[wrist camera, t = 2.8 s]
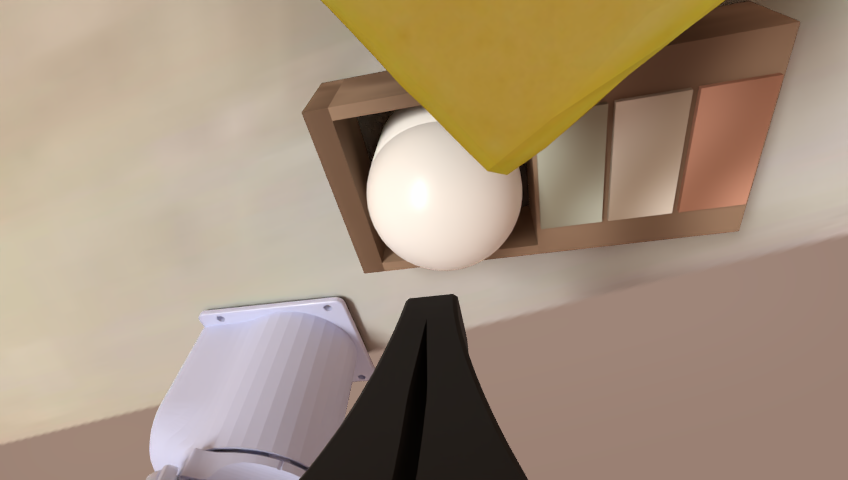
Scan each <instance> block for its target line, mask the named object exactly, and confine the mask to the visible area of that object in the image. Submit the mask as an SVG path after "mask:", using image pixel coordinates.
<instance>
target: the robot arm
mask: <svg viewBox="0 0 848 480" xmlns="http://www.w3.org/2000/svg"><path fill="white" fill-rule="evenodd" d="M327 305H329V306H327ZM199 320H200V322H201V323H202V324H203V326H204V329H203V330H202V332H201V334H200V336H199V338H198V339H197V341H196V343H195V345H194V346H193V348H192V350H191V352H190V353H189V355H188V357H187V359H186V360H185V362H184V364H183V366H182V367H181V369H180V371H179V373H178V374H177V376H176V378H175V380H174V381H173V383H172V385H171V387H170V388H169V390H168V392H167V394H166V396H165V397H164V399H163V401H162V403H161V404H160V406H159V409H158V411H157V413H156V416H155V419H154V422H153V426H152V430H151V436H150V458H151V462H152V465H153V468H154V470H155V472H154V473H152V474H150V475H148V477H147V479H146V480H528V479H527V477H526V476H525V474H524V472H523V470H522V468H521V466H520V465H519V463H518V461H517V459H516V458H515V456H514V454H513V452H512V450H511V448H510V447H509V445H508V443H507V441H506V439H505V437H504V435H503V433H502V431H501V429H500V427H499V425H498V423H497V421H496V419H495V417H494V415H493V413H492V411H491V409H490V406H489V404H488V402H487V400H486V398H485V395H484V393H483V391H482V388H481V386H480V383H479V381H478V379H477V376H476V373H475V371H474V368H473V366H472V363H471V360H470V357H469V354H468V344H467V337H466V332H465V328H464V323H463V319H462V314H461V310H460V305H459V301H458V297H457V296H455V295H454V294H449V295H439V296H429V297H420V298H410V299H408V300H407V301H406V303H405V306H404V308H403V311H402V313H401V316H400V318H399V321H398V323H397V325H396V327H395V330H394V332H393V334H392V336H391V338H390V341H389V343H388V345H387V347H386V349H385V351H384V353H383V355H382V357H381V359H380V361H379V362H378V365H377V366H376V368H374V365H373V363H372V361H371V359H370V356H369V354H368V352H367V350H366V347H365V345H364V343H363V341H362V339H361V336H360V334H359V332H358V330H357V327H356V325H355V323H354V321H353V319H352V316H351V314H350V312H349V310H348V308H347V305H346V303H345V301H344V300H343V299H341V298H339V297H330V298H321V299H311V300H302V301H292V302H283V303H273V304H264V305H254V306H244V307H235V308H225V309H216V310H206V311H202V312H201V314H200V315H199ZM356 381H368V382H367V384H366V386H365V388H364V389H363V391H362V393H361V395H360V396H359V398H358V400H357V401H356V403H355V404H354V406H353V408H352V409H351V411H350V412H349V414H348V415H347V417H346V418H345V414H346V409H347V404H348V400H349V395H350V390H351V385H352V382H356ZM344 419H345V420H344Z"/></svg>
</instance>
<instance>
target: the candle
mask: <svg viewBox="0 0 848 480" xmlns="http://www.w3.org/2000/svg"><path fill="white" fill-rule="evenodd" d="M321 1H322V2H323V3H324V4H325V5H326V6H327V7H328V8H329V9H330V10H331V11H332V12H333V13H334V14H335V15H336V16H337V17H338V18H339V19H340V21H341V22H342V23H343V24H344V25H345V26H346V27H347V28H348V29H349V30H350V31H351V32H352V33H353V34H354V35H355V36H356V37H357V39H358V40H359V41H360V42H361V43H362V44H363V45H364V46H365V47H366V48H367V49H368V50H369V51H370V52H371V53H372V54H373V56H374V57H375V58H376V59H377V60H378V61H379V62H380V63H381V64H382V65H383V67H384V68H385V69H386V70H387V71H388V72H389V73H390V74H391V75H392V77H393V78H394V79H395V80H396V81H397V82H398V83H399V84H400V85H401V86H402V87H403V88H404V89H405V90H406V91H407V92H408V93H409V94H410V95H411V96H412V97H413V98H414V99H415V100H416V101H417V102H419V103H420V104H421V105H422V106H423V107H424V108H425V109H426V110H427V111H428V112H429V113H430V114H431V115H432V116H433V117H434V118H435V119H436V120H437V121H438V122H439V123H440V124H441V125H442V126H443V127H444V128H445V130H446V131H447V132H448V133H449V134H450V135H451V136H452V137H453V138H454V139H455V140H456V141H457V142H458V143H459V144H460V145H461V146H462V147H463V148H464V149H465V150H466V151H467V152H468V153H469V154H470V155H471V156H472V157H473V158H474V159H475V160H476V161H477V162H478V163H479V164H480V165H481V166H483V167H484V168H485V169H486V170H487V171H488V172H494V173H499V174H504V175H508V174H509V173H511V172H512V171H514V170H515V169H517V168H518V167H519V166H521V165H522V164H524V163H525V162H527V161H528V160H529V159H531V158H532V157H534V156H535V155H537V154H538V153H539V152H541V151H542V150H544V149H545V148H546V147H547V146H549V145H550V144H551V143H552V142H553V141H554V140H556V139H557V138H558V137H559V136H560V135H561V134H563V133H564V132H565V131H566V130H567V129H568V128H570V127H571V126H572V125H573V124H574V123H575V122H577V121H578V120H579V119H580V118H581V117H582V116H584V115H585V114H586V113H587V112H588V111H589V110H591V109H592V108H593V107H594V106H595V105H596V104H597V103H598V102H599V101H600V100H602V99H603V98H604V97H605V96H606V95H607V94H608V93H609V92H610V91H611V90H613V89H614V88H615V87H616V86H617V85H618V84H619V83H620V82H621V81H622V80H624V79H625V78H626V77H627V76H628V75H629V74H631V73H632V72H633V71H634V70H636V69H637V68H638V67H640V66H641V65H642V64H643V63H645V62H646V61H647V60H648V59H650V58H651V57H652V56H654V55H655V54H656V53H657V52H659V51H660V50H661V49H662V48H664V47H665V46H666V45H668V44H669V43H670V42H671V41H673V40H674V39H675V38H676V37H678V36H679V35H680V34H681V33H683V32H684V31H685V30H687V29H688V28H689V27H690V26H692V25H693V24H695V23H696V22H697V21H699V20H700V19H701V18H703V17H704V16H705V15H707V14H708V13H709V12H711V11H712V10H713V9H715V8H716V7H717V6H719V5H720V4H721V3H723V2H724V1H725V0H321Z"/></svg>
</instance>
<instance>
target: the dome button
mask: <svg viewBox="0 0 848 480" xmlns="http://www.w3.org/2000/svg"><path fill="white" fill-rule="evenodd" d="M521 202H522V181H521V175H520V170H519V167H518V168H517V169H515V170H514V171H512V172H511V173H509V174H508V175H504V174H499V173H494V172H488V171H487V170H486V169H485V168H484V167H483V166H481V165H480V164H479V163H478V162H477V161H476V160H475V159H474V158H473V157H472V156H471V155H470V154H469V153H468V152H467V151H466V150H465V149H464V148H463V147H462V146H461V145H460V144H459V143H458V142H457V141H456V140H455V139H454V138H453V137H452V136H451V135H450V134H449V133H448V132H447V131H446V130H445V128H444V127H443V126H442V125H441V124H440V123H439V122H438V121H437V120H436V119H435V118H434V117H433V116H432V115H431V114H430V113H429V112H428V111H427V110H426V109H425V108H424V107H423V106H422V105H420V106H414V107H408V108H403V109H397V110H395V111H394V112H393V113H392V115H391V116H390V117H389V119H388V120H387V122H386V123H385V125H384V127H383V130H382V132H381V135H380V138H379V141H378V145H377V148H376V151H375V154H374V158H373V161H372V164H371V168H370V171H369V176H368V181H367V205H368V210H369V214H370V217H371V220H372V223H373V225H374V227H375V229H376V231H377V232H378V234H379V236H380V237H381V239H382V240H383V241H384V243H385V244H386V245H387V246H388V247H389V248H390V249H391V250H392V251H393V252H394V253H396V254H397V255H398V256H399V257H401V258H402V259H404V260H406V261H407V262H410V263H412V264H414V265H417V266H420V267H422V268H426V269H431V270H439V271H448V270H457V269H462V268H466V267H469V266H472V265H474V264H477V263H479V262H481V261H483V260H484V259H486V258H487V257H489V256H490V255H491V254H493V253H494V252H495V251H496V250H497V249H499V248H500V246H501V245H502V244H503V243H504V242H505V241H506V239H507V238H508V236H509V235H510V234H511V232H512V230H513V228H514V226H515V224H516V222H517V219H518V216H519V213H520V209H521Z"/></svg>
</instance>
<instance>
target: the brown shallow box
mask: <svg viewBox="0 0 848 480" xmlns="http://www.w3.org/2000/svg"><path fill="white" fill-rule="evenodd" d="M799 25H800V21H798V20H795V19H793V18H790V17H788V16H785V15H783V14H780V13H778V12H775V11H773V10H770V9H768V8H766V7H763V6H761V5H758V4H756V3H753V2H751V1H745V2H740V3H735V4H730V5H725V6H719V7H716V8H715V9H713V10H712V11H711V12H709V13H708V14H707V15H705V16H704V17H703V18H701V19H700V20H699V21H697V22H696V23H695V24H693V25H692V26H690V27H689V28H688V29H687V30H685V31H684V32H683V33H681V34H680V35H679V36H678V37H676V38H675V39H674V40H673V41H671V42H670V43H669V44H668V45H666V46H665V47H664V48H662V49H661V50H660V51H659V52H657V53H656V54H655V55H654V56H652V57H651V58H650V59H648V60H647V61H646V62H645V63H643V64H642V65H641V66H640V67H638V68H637V69H636V70H634V71H633V72H632V73H631V74H629V75H628V76H627V77H626V78H625V79H624V80H622V81H621V82H620V83H619V84H618V85H617V86H616V87H615V88H614V89H613V90H611V91H610V92H609V93H608V94H607V95H606V96H605V97H604V98H603V99H602V100H600V101H599V102H598V103H597V104H596V105H595V106H594V107H593V108H592V109H591V110H589V111H588V112H587V113H586V114H585V115H584V116H582V117H581V118H580V119H579V120H578V121H577V122H575V123H574V124H573V125H572V126H571V127H570V128H568V129H567V130H566V131H565V132H564V133H563V134H561V135H560V136H559V137H558V138H557V139H556V140H554V141H553V142H552V143H551V144H550V145H549V146H547V147H546V148H545V149H544V150H542V151H541V152H539V153H538V154H537V155H535V156H534V157H532V158H531V159H529V160H528V161H527V162H526V168H527V183H528V197H529V206H523V207H521V209H520V213H519V216H518V219H517V222H516V224H515V226H514V228H513V230H512V232H511V234H510V235H509V236H508V238H507V239H506V241H505V242H504V243H503V244H502V245H501V246H500V248H499V249H497V250H496V251H495V252H494V253H493V254H491V255H490V256H489V257H487V258H486V259H484V260H487V259H496V258H505V257H514V256H523V255H531V254H540V253H549V252H558V251H567V250H576V249H584V248H593V247H602V246H611V245H620V244H629V243H637V242H646V241H655V240H664V239H673V238H682V237H690V236H699V235H708V234H717V233H726V232H735V231H739V228H740V225H741V221H742V218H743V215H744V211H745V208H746V205H747V201H748V198H749V194H750V191H751V188H752V184H753V181H754V177H755V174H756V171H757V167H758V164H759V160H760V157H761V154H762V150H763V147H764V143H765V140H766V137H767V133H768V130H769V126H770V123H771V120H772V116H773V113H774V110H775V106H776V103H777V99H778V96H779V93H780V89H781V86H782V82H783V79H784V76H785V72H786V69H787V65H788V62H789V59H790V55H791V52H792V48H793V45H794V42H795V38H796V35H797V31H798V28H799ZM420 105H421V104H420V103H419V102H417V101H416V100H415V99H414V98H413V97H412V96H411V95H410V94H409V93H408V92H407V91H406V90H405V89H404V88H403V87H402V86H401V85H400V84H399V83H398V82H397V81H396V80H395V79H394V78H393V77H392V75H391V74H390V73H389V72H388V71H383V72H378V73H373V74H367V75H362V76H357V77H352V78H347V79H342V80H336V81H331V82H326V83H321V85H320V86H319V88H318V89H317V91H316V92H315V94H314V95H313V97H312V98H311V100H310V101H309V103H308V104H307V106H306V107H305V109H304V110H303V111H302V115H303V117H304V120H305V122H306V125H307V127H308V130H309V133H310V135H311V138H312V140H313V143H314V145H315V148H316V151H317V153H318V156H319V158H320V161H321V163H322V166H323V168H324V171H325V174H326V176H327V179H328V181H329V184H330V186H331V189H332V192H333V194H334V197H335V199H336V202H337V204H338V207H339V209H340V212H341V215H342V217H343V220H344V222H345V225H346V227H347V230H348V233H349V235H350V238H351V240H352V243H353V245H354V248H355V251H356V253H357V256H358V258H359V261H360V263H361V266H362V268H363V271H364V273H372V272H381V271H390V270H399V269H408V268H417V267H420V266H417V265H414V264H412V263H410V262H407V261H406V260H404V259H402V258H401V257H399V256H398V255H397V254H396V253H394V252H393V251H392V250H391V249H390V248H389V247H388V246H387V245H386V244H385V243H384V241H383V240H382V239H381V237H380V236H379V234H378V232H377V231H376V229H375V227H374V225H373V223H372V220H371V217H370V214H369V210H368V205H367V181H368V176H369V171H370V168H371V162H370V159H369V156H368V153H367V149H366V146H365V143H364V140H363V137H362V133H361V130H360V127H359V124H358V121H357V117H358V116H363V115H369V114H375V113H380V112H386V111H392V110H397V109H403V108H408V107H414V106H420Z"/></svg>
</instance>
